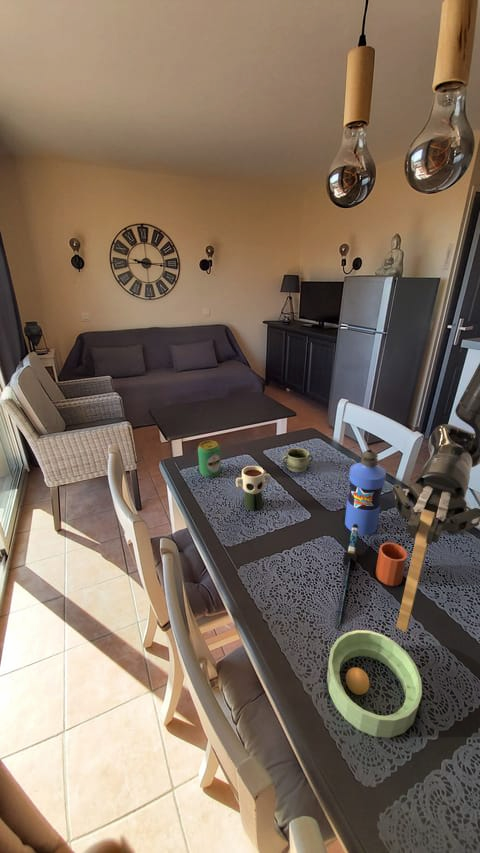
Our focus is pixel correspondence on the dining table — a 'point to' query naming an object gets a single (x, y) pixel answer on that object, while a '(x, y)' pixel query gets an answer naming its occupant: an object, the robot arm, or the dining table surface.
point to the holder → (391, 564)
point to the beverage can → (209, 459)
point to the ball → (357, 681)
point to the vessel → (297, 459)
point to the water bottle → (365, 494)
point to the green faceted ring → (388, 655)
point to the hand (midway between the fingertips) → (421, 535)
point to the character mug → (253, 486)
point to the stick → (415, 569)
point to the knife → (350, 558)
